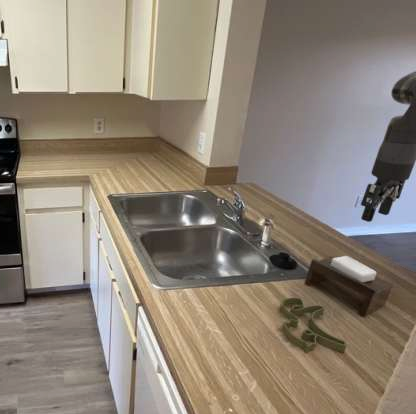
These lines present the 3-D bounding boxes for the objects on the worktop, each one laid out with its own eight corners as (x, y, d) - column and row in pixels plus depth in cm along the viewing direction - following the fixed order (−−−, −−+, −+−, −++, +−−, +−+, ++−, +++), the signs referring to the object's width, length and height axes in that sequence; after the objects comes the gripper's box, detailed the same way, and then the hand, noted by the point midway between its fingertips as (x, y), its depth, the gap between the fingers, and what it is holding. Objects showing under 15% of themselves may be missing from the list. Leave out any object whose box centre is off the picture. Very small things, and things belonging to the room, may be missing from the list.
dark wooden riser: (324, 275, 103) (332, 251, 100) (384, 305, 90) (395, 279, 87) (304, 284, 99) (311, 259, 96) (364, 317, 86) (375, 290, 82)
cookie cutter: (349, 359, 74) (352, 352, 73) (291, 350, 76) (293, 344, 75) (318, 306, 90) (320, 300, 89) (270, 300, 92) (271, 294, 91)
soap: (374, 281, 89) (378, 271, 87) (359, 284, 87) (362, 274, 86) (343, 263, 97) (346, 254, 95) (328, 266, 95) (331, 257, 94)
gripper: (399, 166, 77) (376, 228, 84) (427, 158, 83) (404, 216, 89) (363, 159, 83) (344, 217, 90) (392, 152, 89) (372, 207, 96)
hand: (374, 217), depth 90 cm, fingers open, 8 cm apart
